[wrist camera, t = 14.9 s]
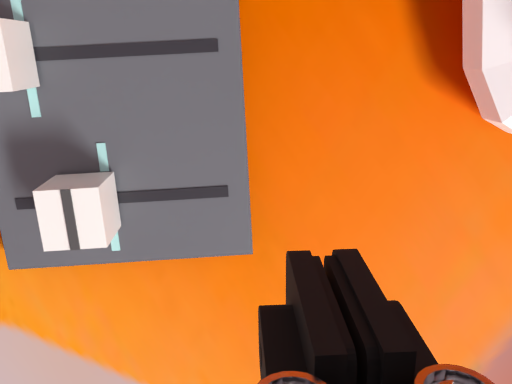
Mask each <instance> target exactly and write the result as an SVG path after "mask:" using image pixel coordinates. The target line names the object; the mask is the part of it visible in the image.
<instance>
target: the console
mask: <svg viewBox="0 0 512 384" xmlns="http://www.w3.org/2000/svg"><path fill="white" fill-rule="evenodd" d="M0 18H4V19H11V20H18V21H25V22H29V26H30V32H31V38H32V44H33V49H34V55H35V61H36V66H37V72H38V78H39V84H40V87H35V88H29V89H24V90H19V91H13V92H0V231H1V236H2V240H3V245H4V250H5V254H6V259H7V263H8V268H9V270H12V269H28V268H43V267H59V266H74V265H90V264H105V263H121V262H136V261H152V260H167V259H183V258H198V257H214V256H229V255H245V254H253V249H252V231H251V213H250V195H249V178H248V160H247V142H246V125H245V107H244V89H243V71H242V54H241V36H240V18H239V0H0ZM98 172H114V176H115V184H116V191H117V198H118V205H119V212H120V220H121V227H120V228H119V230H118V232H117V233H116V235H115V236H114V238H113V239H112V241H111V242H110V244H109V246H108V247H107V248H92V249H80V250H61V251H45V252H44V249H43V244H42V239H41V234H40V229H39V223H38V218H37V213H36V208H35V202H34V197H33V192H32V191H34V190H35V189H36V188H38V187H39V186H41V185H42V184H43V183H45V182H46V181H48V180H49V179H51V178H52V177H53V176H55V175H64V174H81V173H98Z"/></svg>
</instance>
